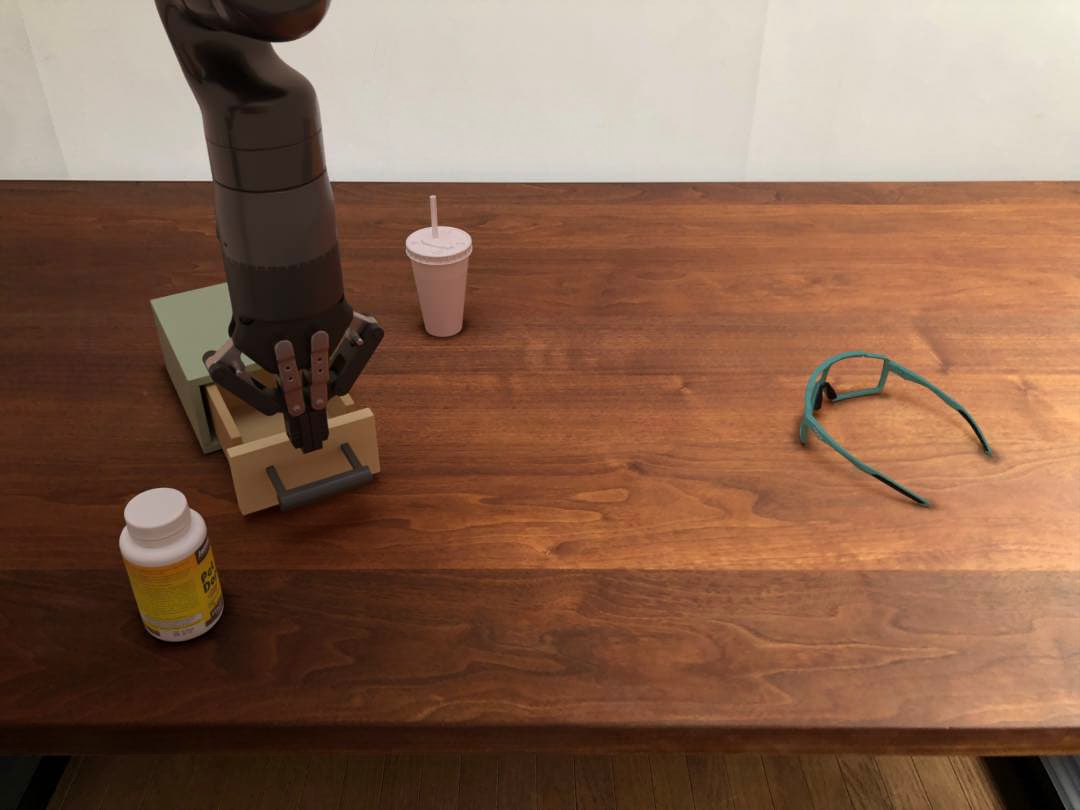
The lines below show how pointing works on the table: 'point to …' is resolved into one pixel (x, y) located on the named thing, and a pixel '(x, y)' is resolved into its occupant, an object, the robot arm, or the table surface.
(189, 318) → the cabinet
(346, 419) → the drawer
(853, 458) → the sunglasses
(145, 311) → the table surface
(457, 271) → the smoothie
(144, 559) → the supplement bottle
